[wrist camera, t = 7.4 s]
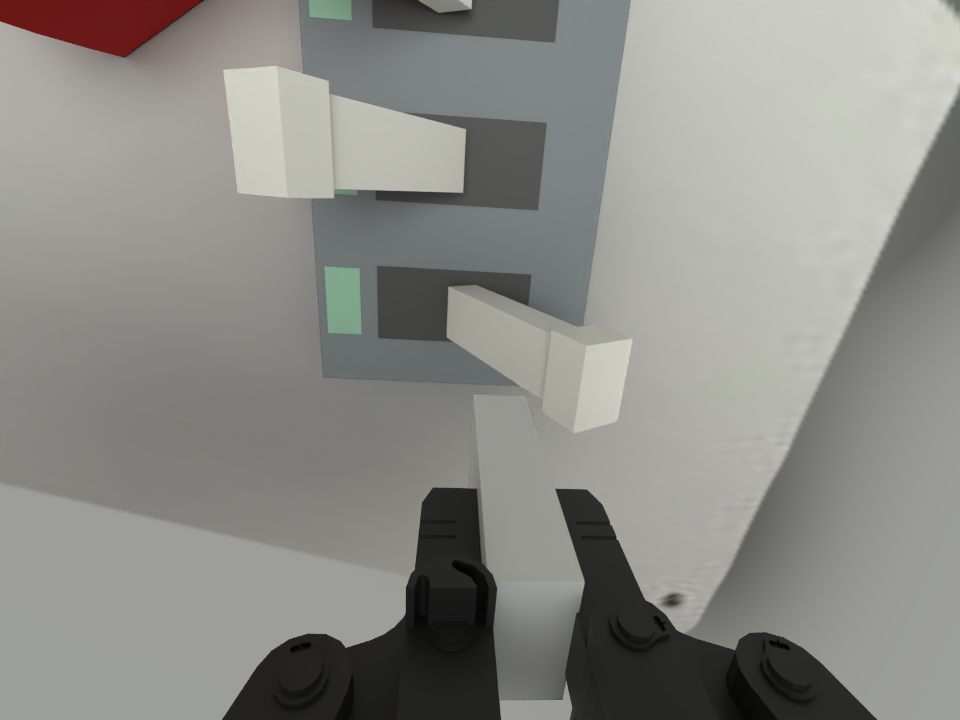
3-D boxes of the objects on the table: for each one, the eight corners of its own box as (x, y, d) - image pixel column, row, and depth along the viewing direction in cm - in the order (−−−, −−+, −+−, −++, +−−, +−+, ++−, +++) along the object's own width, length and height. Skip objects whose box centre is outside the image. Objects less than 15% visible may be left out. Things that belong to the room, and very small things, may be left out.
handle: (429, 196, 25) (237, 192, 16) (431, 122, 24) (223, 69, 14) (467, 199, 24) (287, 197, 15) (471, 122, 23) (276, 65, 13)
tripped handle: (441, 342, 27) (573, 433, 18) (443, 281, 26) (586, 346, 17) (477, 338, 28) (617, 421, 19) (480, 279, 27) (633, 338, 18)
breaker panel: (335, 360, 32) (322, 377, 29) (309, -134, 23) (286, -180, 20) (564, 370, 33) (573, 388, 30) (629, -103, 23) (651, -142, 21)
